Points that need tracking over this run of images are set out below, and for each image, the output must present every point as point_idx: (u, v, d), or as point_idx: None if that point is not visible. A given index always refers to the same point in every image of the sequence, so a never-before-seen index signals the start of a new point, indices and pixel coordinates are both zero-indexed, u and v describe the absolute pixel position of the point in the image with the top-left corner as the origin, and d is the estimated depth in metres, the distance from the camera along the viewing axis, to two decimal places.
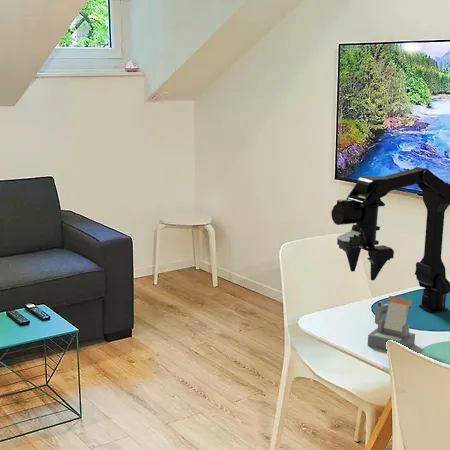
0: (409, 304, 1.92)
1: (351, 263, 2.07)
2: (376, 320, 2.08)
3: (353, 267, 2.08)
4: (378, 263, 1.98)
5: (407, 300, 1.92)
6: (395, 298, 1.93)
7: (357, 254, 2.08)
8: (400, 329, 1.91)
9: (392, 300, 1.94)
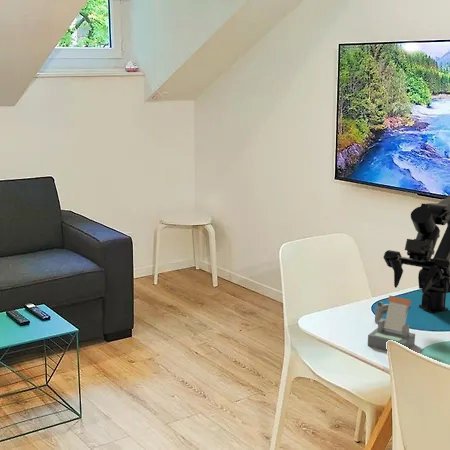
0: (409, 304, 1.92)
1: (397, 278, 2.02)
2: (376, 320, 2.08)
3: (397, 283, 2.02)
4: (432, 278, 1.99)
5: (407, 300, 1.92)
6: (395, 298, 1.93)
7: (400, 274, 2.05)
8: (400, 329, 1.91)
9: (392, 300, 1.94)
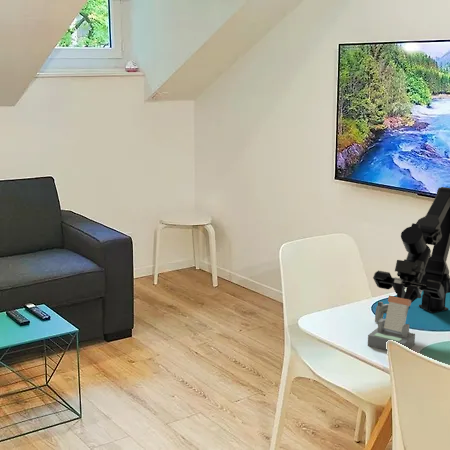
0: (409, 304, 1.92)
1: None
2: (376, 320, 2.08)
3: None
4: (410, 297, 1.96)
5: (407, 300, 1.91)
6: (395, 298, 1.93)
7: (404, 298, 1.98)
8: (400, 329, 1.91)
9: (392, 300, 1.93)
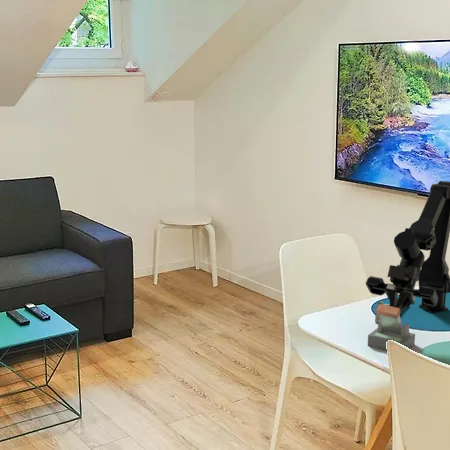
0: (398, 314, 1.86)
1: None
2: (376, 320, 2.08)
3: None
4: (403, 303, 1.92)
5: (395, 315, 1.85)
6: (383, 312, 1.87)
7: None
8: (399, 333, 1.90)
9: (381, 313, 1.88)
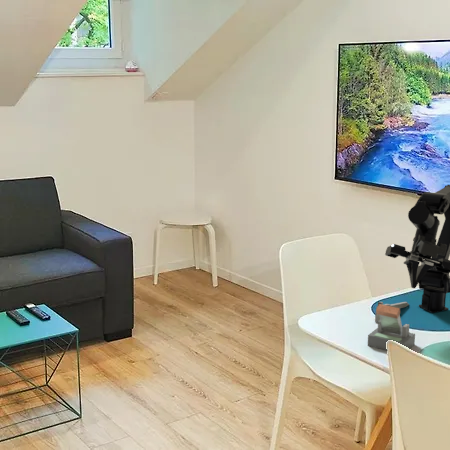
0: (398, 314, 1.86)
1: None
2: (376, 320, 2.08)
3: None
4: None
5: (395, 315, 1.85)
6: (383, 312, 1.87)
7: None
8: (399, 333, 1.90)
9: (381, 313, 1.88)
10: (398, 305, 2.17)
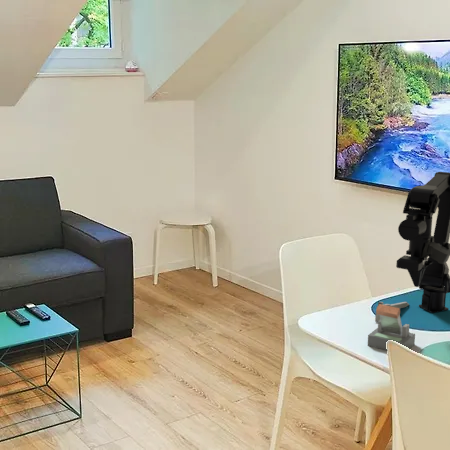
0: (398, 314, 1.86)
1: None
2: (376, 320, 2.08)
3: None
4: None
5: (395, 315, 1.85)
6: (383, 312, 1.87)
7: None
8: (399, 333, 1.90)
9: (381, 313, 1.88)
10: (398, 305, 2.17)
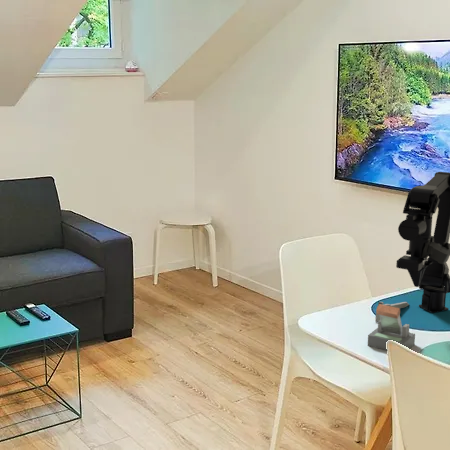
0: (398, 314, 1.86)
1: None
2: (377, 320, 2.08)
3: None
4: None
5: (395, 315, 1.85)
6: (383, 312, 1.87)
7: None
8: (399, 333, 1.90)
9: (381, 313, 1.88)
10: (398, 305, 2.17)
